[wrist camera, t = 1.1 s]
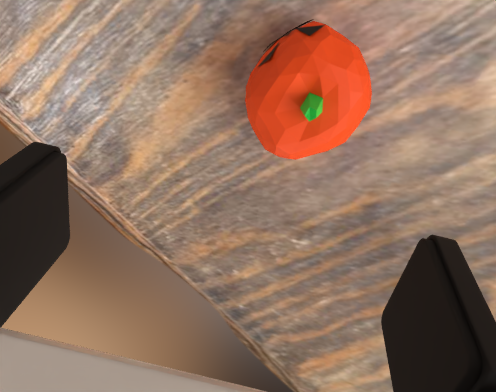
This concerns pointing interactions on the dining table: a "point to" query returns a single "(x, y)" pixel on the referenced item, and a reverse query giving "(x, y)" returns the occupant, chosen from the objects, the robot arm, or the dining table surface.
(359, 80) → the pumpkin
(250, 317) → the dining table surface
